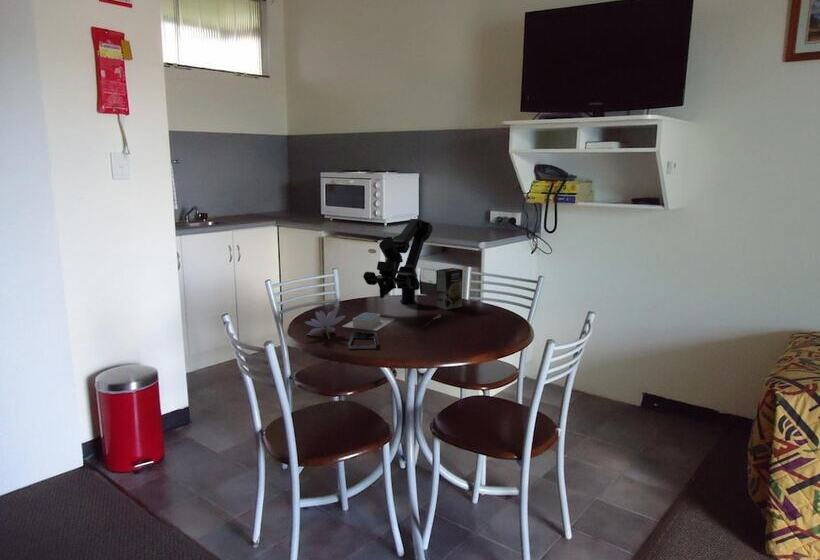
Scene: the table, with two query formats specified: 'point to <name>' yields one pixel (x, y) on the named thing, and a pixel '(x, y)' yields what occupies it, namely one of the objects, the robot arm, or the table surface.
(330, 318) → the water lily
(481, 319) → the table surface
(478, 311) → the table surface
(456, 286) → the coffee box
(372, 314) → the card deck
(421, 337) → the table surface
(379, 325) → the mat
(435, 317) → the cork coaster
